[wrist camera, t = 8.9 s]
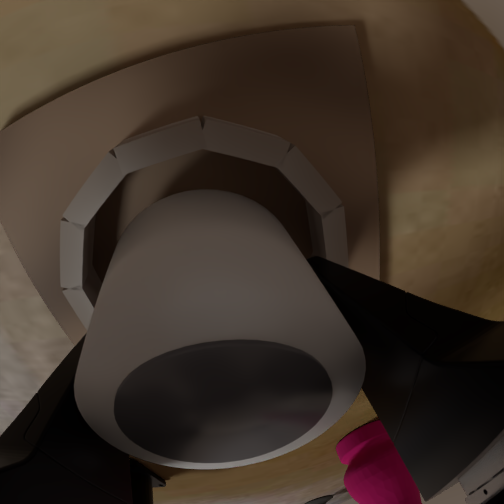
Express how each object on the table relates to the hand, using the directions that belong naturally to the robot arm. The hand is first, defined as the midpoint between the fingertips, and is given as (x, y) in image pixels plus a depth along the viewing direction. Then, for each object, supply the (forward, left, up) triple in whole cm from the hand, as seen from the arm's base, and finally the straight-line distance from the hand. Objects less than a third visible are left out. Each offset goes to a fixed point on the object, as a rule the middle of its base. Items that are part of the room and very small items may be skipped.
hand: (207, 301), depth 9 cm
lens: (0, 0, -1) cm, 1 cm away
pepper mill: (-25, -8, -4) cm, 27 cm away
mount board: (0, 0, -4) cm, 4 cm away
